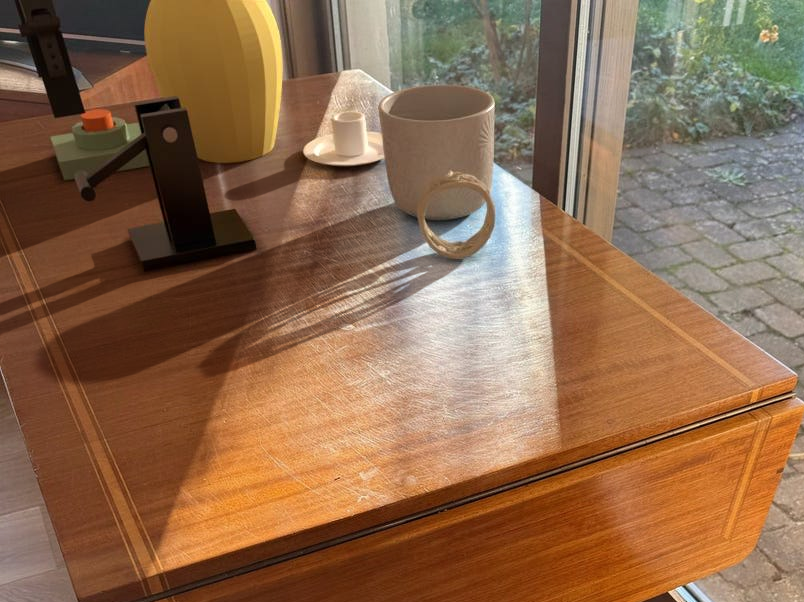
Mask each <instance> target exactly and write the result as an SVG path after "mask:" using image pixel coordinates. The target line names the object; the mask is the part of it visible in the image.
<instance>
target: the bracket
mask: <svg viewBox="0 0 804 602" xmlns="http://www.w3.org/2000/svg"><path fill="white" fill-rule="evenodd" d="M164 104H167V106H168V107H169V108H170V110H165V111H159V112H155V111H156V110H158V109H159V108H160V107H162V106H163V105H164ZM133 107H134V111H135V115H136V119H137V123H139V127H140V131H141V134H142V133H144V132H145V136H146V140H147V144H148V148H146V149H145V151H146V155H147V159H148V162H149V166H148V167H149V170H150V175H151V178H152V182H153V186H154V190H155V194H156V198H157V201H158V205H159V209H160V213H161V217H162V222H156V223H151V224H145V225H140V226H135V227H130V228H127V229H126V230H127V233H128V236H129V240H130V242H131V245H132V247H133V249H134V251H135V254H136V256H137V258H138V262H139V264H140V265H141V267H142V270H143V272H144V273H148V272H152V271H157V270H163V269H167V268H172V267H173V268H174V267H176V266H177V267H178V266H181V265H187V264H193V263H198V262H203V261H207V260H212V259H217V258H221V257H226V256H231V255H236V254H237V255H238V254H242V253H247V252H252V251H256V250H258V248H257V242H256V238H255V237H254V235H253V234H252V232H251V231H250V229H249V228H248V226H247V225H246V223H245V221H244V220H243V219H242V217H241V215H240V214H239V213H238V211H237V210H236V208H231V209H226V210H221V211H220V210H219V211H216V212H210V208H209V203H208V198H207V193H206V189H205V185H204V182H203V176H202V171H201V167H200V162H199V158H198V157H197V153H196V148H195V144H194V139H193V135H192V130H191V126H190V121H189V117H188V112H187V110H186V108H185V107H184V108H181V105H180V101H179V98H178V96H173V97H166V98H163V97H161V98H160V97H159V98H155V99H148V100H142V101H134V102H133Z"/></svg>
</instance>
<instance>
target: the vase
mask: <svg viewBox="0 0 804 602" xmlns="http://www.w3.org/2000/svg"><path fill="white" fill-rule="evenodd" d="M143 32H144V33H143V34H144V47H145V52H146V57H147V60H148V64H149V67H150V70H151V73H152V75H153V78H154V81H155V83H156V86H157V87H158V90H159V92H160V94H161V96H162V98H166V97H173V96H178V98H179V101H180V105H181V108H184V107H185V108H186V110H187V112H188V117H189V121H190V126H191V130H192V135H193V139H194V144H195V148H196V153H197V157H198V160H202V161H204V162H210V163H215V164H231V163H241V162H246V161H251V160H255V159H258V158H261V157H263V156H265V155H267V154H268V153H270V152H272V150H273V148H274V147H275V142H276V137H277V131H278V125H279V117H280V110H281V102H282V101H281V100H282V90H283V67H284V66H283V50H282V41H281V36H280V35H281V34H280V31H279V27H278V24H277V20H276V18H275V16H274V13H273V10H272V9H271V7H270V5H269V3H268V2H267V1H266V0H150V2H149V4H148V8H147V10H146V15H145V20H144V31H143Z"/></svg>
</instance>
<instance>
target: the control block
mask: <svg viewBox="0 0 804 602" xmlns="http://www.w3.org/2000/svg"><path fill="white" fill-rule="evenodd" d="M111 117H112V120H113V124H114V127H113V128H110V129H107V130H103V131H97V132H96V131H85V130H84V126H83V123H82V121H78V122H76V123H75V124H74V125H73V126H72V127H71V131H72V132H71V133H70V132H69V133H65V134H58V135H51V136H49V139H50V142H51V145H52V149H53V151H54V155H55V158H56V161H57V163H58V166H59V169H60V172H61V174H62V177H63V180H64V181H70V180H75V178H74V175H75V173H76V172H77V171H79V170H83V171H85V172H87V173H88V174H89V173H91V172H92V171H93V170H95V169H96V168H97V167H99V166H100V165H101V164H103V163H104V162H105V161H107V160H108V159H109V158H111V157H112V156H113V155H115V154H116V153H117V152H119V151H120V150H121V149H123V148H124V147H125V146H127V145H128V144H129V143H131V142H132V141H133V140H134V139H136V138H137V137H138V136H140V135H141V131H140V127H139V123H138V122H134V123H127V122H125V120H124V119H123V118H119V117H117V116H116V117H115V116H111ZM145 167H150V166H149V162H148V159H147V155H146V151H145V150H144V151H142V152H141V153H140V154H138V155H137V156H136V157H134V158H133V159H132V160H130V161H129V162H128V163H127V164H125V165H124V166H123V167H121V168H120V169H119V170H117V171H116V172H123V171H127V170H128V171H129V170H133V169H140V168H145ZM116 172H115V173H116Z"/></svg>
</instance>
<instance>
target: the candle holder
mask: <svg viewBox="0 0 804 602" xmlns="http://www.w3.org/2000/svg"><path fill="white" fill-rule="evenodd" d="M330 121H331V122H330V123H331V129H332V133H330V134H329V133H328V134H325V135H322V136H319V137H317V138H315V139H313V140H311V141H309V142H307V144H305V145H304V147H303V149H302V153H303V155H304V157H305V158H307V159H308V160H310V161H312V162H314V163H318V164H322V165H326V166H327V165H328V166H334V167H356V166H357V167H358V166H365V165H369V164H372V163H376V162H377V161H381V160H383V159H384V160H385V158H384V150H383V142H382V134H381V132H377V131H369V130H368V131H367V123H366V117H365V115H364V113H362V112H360V111H352V110H351V111H341V112H338V113H335V114H333V115H332V116H331V119H330Z"/></svg>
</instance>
